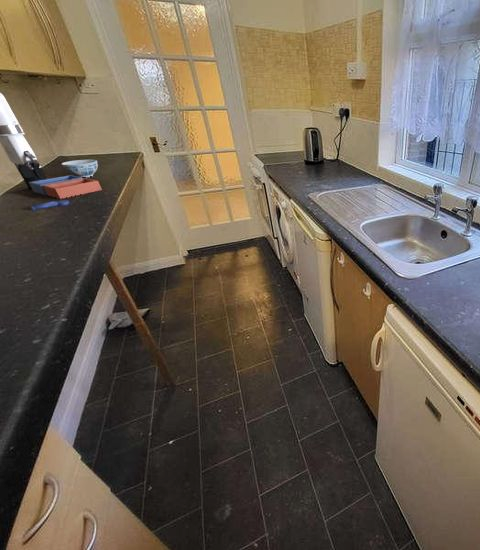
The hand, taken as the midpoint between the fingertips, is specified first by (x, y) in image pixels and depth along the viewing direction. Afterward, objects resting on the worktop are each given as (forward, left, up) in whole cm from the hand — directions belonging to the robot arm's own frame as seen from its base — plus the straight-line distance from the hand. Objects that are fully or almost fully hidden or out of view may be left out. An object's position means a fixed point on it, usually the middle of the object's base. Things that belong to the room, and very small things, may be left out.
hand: (35, 178), depth 116 cm
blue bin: (+16, +28, -12) cm, 35 cm away
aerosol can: (+13, +41, -12) cm, 45 cm away
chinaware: (+36, +47, -12) cm, 61 cm away
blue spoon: (+1, 0, -12) cm, 12 cm away
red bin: (+16, +15, -12) cm, 25 cm away
